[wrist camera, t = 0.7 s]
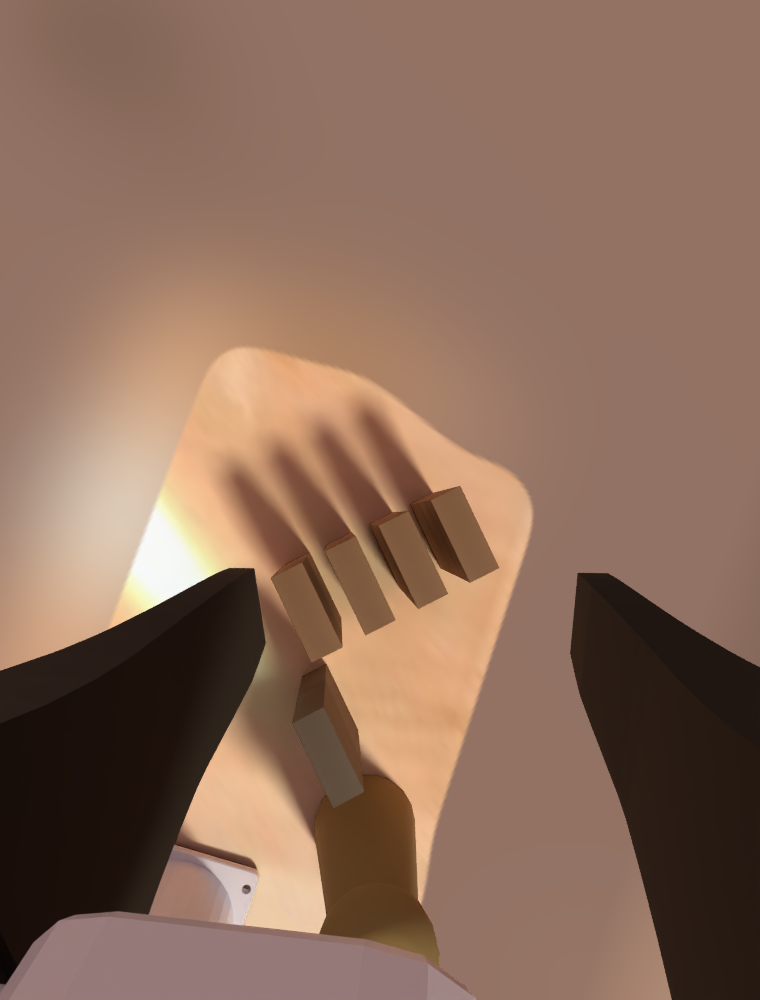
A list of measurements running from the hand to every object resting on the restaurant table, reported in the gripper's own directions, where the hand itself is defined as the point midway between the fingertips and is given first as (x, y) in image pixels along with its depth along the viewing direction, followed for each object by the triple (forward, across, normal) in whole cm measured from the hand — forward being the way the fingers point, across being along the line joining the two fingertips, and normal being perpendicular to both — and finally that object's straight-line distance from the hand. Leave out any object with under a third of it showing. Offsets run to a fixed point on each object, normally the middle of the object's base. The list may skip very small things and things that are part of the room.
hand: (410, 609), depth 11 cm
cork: (+12, +4, +23) cm, 26 cm away
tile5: (+19, 0, +7) cm, 20 cm away
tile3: (+17, +5, +8) cm, 20 cm away
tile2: (+16, +7, +9) cm, 20 cm away
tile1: (+14, +6, +16) cm, 22 cm away
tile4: (+18, +2, +8) cm, 20 cm away
